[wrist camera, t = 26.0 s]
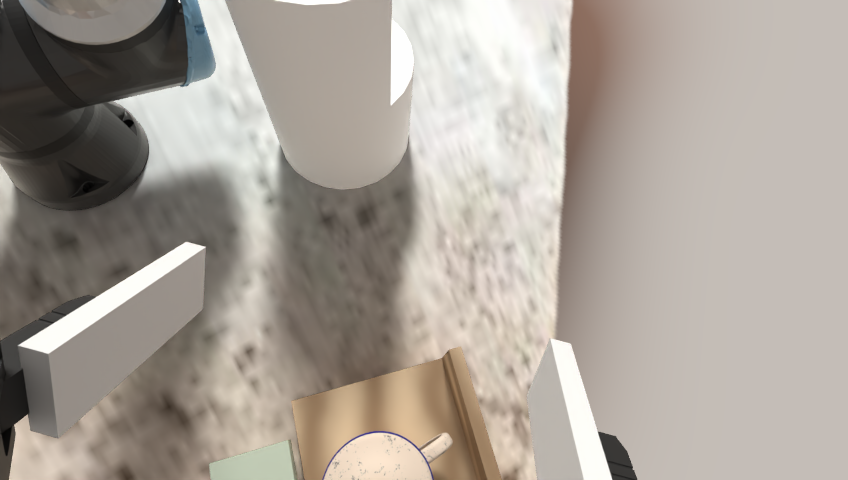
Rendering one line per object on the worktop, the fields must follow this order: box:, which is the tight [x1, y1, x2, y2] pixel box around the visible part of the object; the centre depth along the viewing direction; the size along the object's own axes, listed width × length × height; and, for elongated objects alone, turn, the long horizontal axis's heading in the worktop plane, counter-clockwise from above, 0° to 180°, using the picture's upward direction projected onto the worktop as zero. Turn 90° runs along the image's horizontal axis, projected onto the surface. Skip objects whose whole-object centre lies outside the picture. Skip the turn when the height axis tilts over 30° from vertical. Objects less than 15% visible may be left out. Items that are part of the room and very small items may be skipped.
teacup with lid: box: [322, 431, 453, 480], centre depth 39 cm, size 12×9×12 cm
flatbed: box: [291, 347, 502, 480], centre depth 43 cm, size 17×18×9 cm
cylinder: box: [225, 0, 414, 190], centre depth 49 cm, size 17×17×28 cm
